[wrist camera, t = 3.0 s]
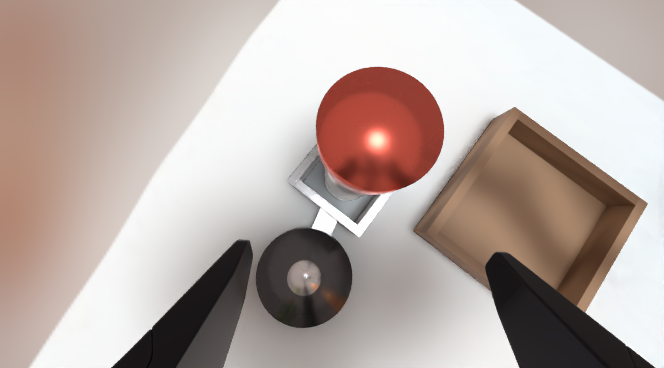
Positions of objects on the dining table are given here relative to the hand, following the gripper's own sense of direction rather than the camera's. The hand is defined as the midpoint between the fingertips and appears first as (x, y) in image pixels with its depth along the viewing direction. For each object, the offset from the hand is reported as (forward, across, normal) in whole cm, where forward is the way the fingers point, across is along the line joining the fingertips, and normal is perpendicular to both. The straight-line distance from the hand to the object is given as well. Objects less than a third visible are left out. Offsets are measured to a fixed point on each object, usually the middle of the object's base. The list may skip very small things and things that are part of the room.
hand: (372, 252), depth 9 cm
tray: (+9, -14, +6) cm, 18 cm away
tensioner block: (+8, +1, +8) cm, 11 cm away
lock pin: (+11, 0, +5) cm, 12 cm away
